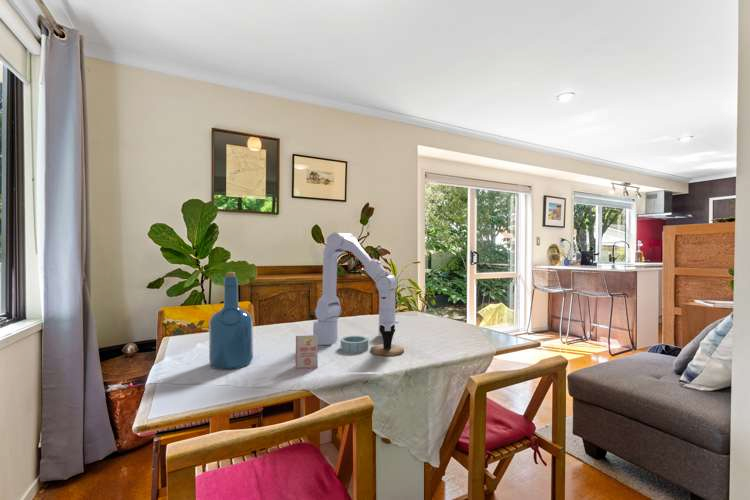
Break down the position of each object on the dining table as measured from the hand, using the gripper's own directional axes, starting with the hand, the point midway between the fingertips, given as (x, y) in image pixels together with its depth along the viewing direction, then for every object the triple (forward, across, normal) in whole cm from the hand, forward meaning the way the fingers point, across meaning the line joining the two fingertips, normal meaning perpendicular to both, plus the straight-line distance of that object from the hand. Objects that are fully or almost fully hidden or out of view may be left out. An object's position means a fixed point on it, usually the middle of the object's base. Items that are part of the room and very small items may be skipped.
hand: (387, 346), depth 132 cm
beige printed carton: (+2, -15, +26) cm, 30 cm away
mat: (+2, 0, 0) cm, 2 cm away
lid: (+2, 0, 0) cm, 2 cm away
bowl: (+2, +3, +12) cm, 13 cm away
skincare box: (+2, +21, 0) cm, 21 cm away
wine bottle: (+2, -13, +51) cm, 53 cm away
